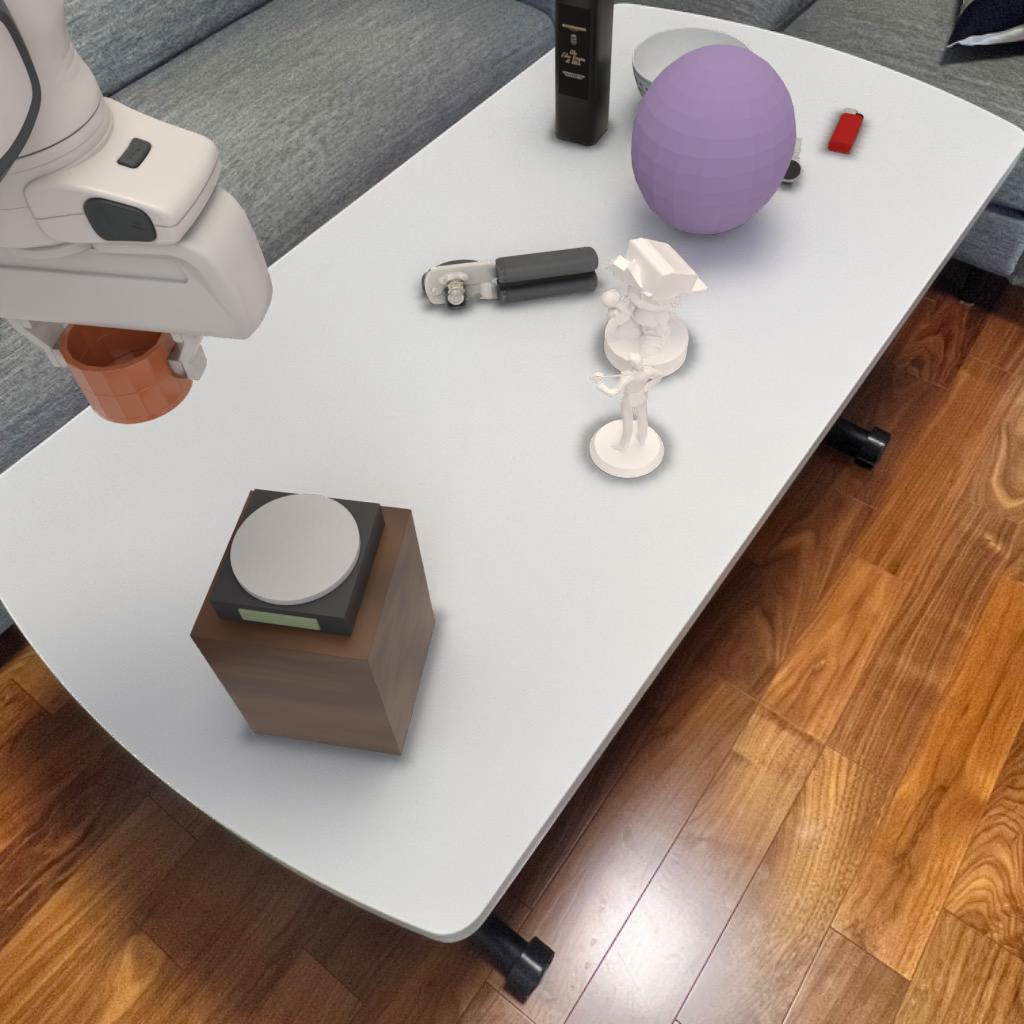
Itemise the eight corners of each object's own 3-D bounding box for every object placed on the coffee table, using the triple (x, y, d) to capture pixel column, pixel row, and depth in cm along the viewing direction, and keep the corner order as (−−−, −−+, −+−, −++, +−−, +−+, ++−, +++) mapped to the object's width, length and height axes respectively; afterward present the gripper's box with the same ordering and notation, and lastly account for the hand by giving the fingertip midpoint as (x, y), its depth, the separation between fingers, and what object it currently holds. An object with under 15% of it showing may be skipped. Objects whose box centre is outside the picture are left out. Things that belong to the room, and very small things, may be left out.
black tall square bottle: (592, 148, 118) (601, -121, 94) (552, 138, 120) (550, -130, 95) (611, 125, 121) (624, -143, 97) (571, 115, 123) (574, -150, 98)
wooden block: (401, 755, 72) (367, 660, 59) (253, 732, 74) (189, 635, 61) (435, 620, 79) (411, 509, 66) (299, 602, 80) (250, 489, 67)
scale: (350, 638, 60) (341, 615, 58) (218, 620, 61) (204, 596, 59) (385, 523, 65) (378, 498, 63) (263, 508, 66) (252, 482, 64)
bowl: (170, 429, 57) (145, 376, 53) (71, 418, 58) (39, 366, 54) (208, 354, 61) (186, 301, 57) (114, 346, 61) (87, 292, 58)
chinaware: (621, 88, 126) (624, 31, 120) (732, 81, 126) (741, 23, 120) (636, 153, 117) (641, 95, 111) (755, 145, 117) (767, 86, 111)
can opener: (424, 317, 101) (418, 280, 97) (422, 278, 105) (416, 241, 101) (600, 301, 101) (602, 264, 97) (592, 263, 105) (593, 225, 101)
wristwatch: (773, 188, 112) (781, 151, 108) (778, 164, 114) (786, 127, 110) (798, 192, 111) (807, 154, 107) (802, 167, 114) (811, 130, 110)
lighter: (828, 140, 115) (843, 106, 119) (826, 149, 116) (841, 115, 120) (852, 145, 114) (866, 110, 118) (849, 154, 115) (863, 120, 119)
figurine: (642, 411, 92) (652, 319, 82) (677, 462, 88) (692, 372, 78) (576, 434, 90) (578, 343, 81) (609, 487, 86) (615, 399, 77)
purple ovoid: (681, 162, 116) (701, -5, 99) (803, 215, 109) (846, 44, 92) (595, 231, 108) (602, 63, 92) (721, 293, 101) (751, 122, 85)
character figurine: (589, 336, 98) (592, 242, 88) (666, 306, 100) (678, 212, 91) (631, 390, 93) (639, 297, 84) (711, 357, 96) (729, 263, 86)
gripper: (-192, 189, 46) (-48, 387, 57) (202, 219, 44) (272, 420, 55) (-121, 119, 50) (1, 317, 61) (246, 143, 47) (303, 345, 58)
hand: (132, 366), depth 58 cm, fingers closed on bowl, 6 cm apart
